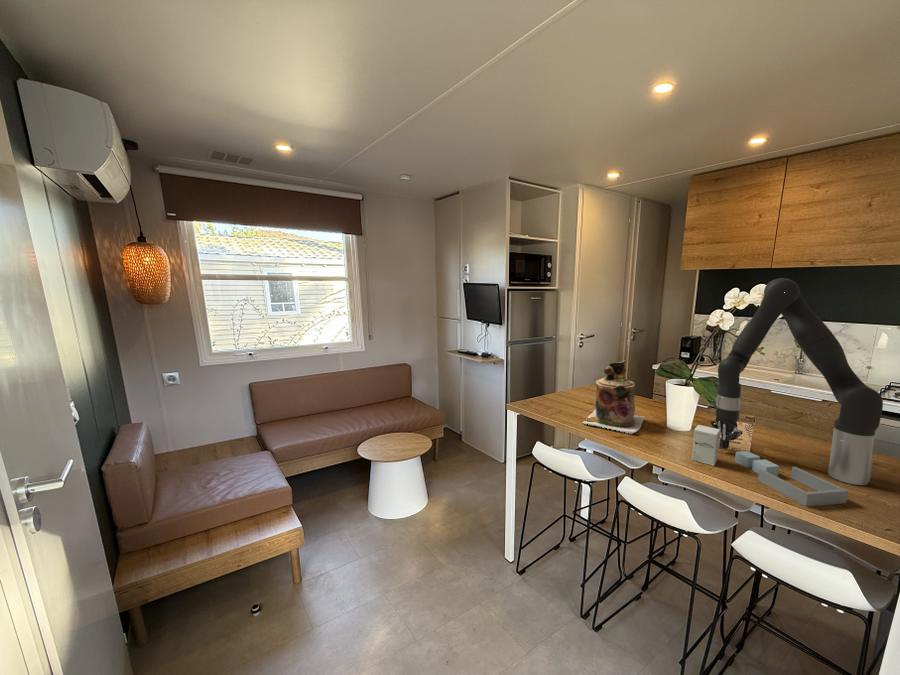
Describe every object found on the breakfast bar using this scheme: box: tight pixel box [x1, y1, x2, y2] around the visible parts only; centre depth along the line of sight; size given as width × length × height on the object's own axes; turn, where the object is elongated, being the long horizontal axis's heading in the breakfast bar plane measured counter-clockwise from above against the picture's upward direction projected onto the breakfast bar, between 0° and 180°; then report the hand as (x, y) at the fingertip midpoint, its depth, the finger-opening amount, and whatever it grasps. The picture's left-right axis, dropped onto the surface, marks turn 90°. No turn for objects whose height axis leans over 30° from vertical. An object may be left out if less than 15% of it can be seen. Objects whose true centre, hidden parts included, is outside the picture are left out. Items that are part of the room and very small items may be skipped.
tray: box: [757, 466, 849, 507], centre depth 116 cm, size 14×15×4 cm
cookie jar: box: [582, 359, 646, 435], centre depth 176 cm, size 25×25×32 cm
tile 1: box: [734, 450, 761, 469], centre depth 135 cm, size 5×5×4 cm
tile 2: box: [751, 459, 780, 478], centre depth 128 cm, size 5×5×4 cm
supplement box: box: [691, 424, 720, 467], centre depth 138 cm, size 7×7×13 cm
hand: (723, 447), depth 144 cm, fingers closed
